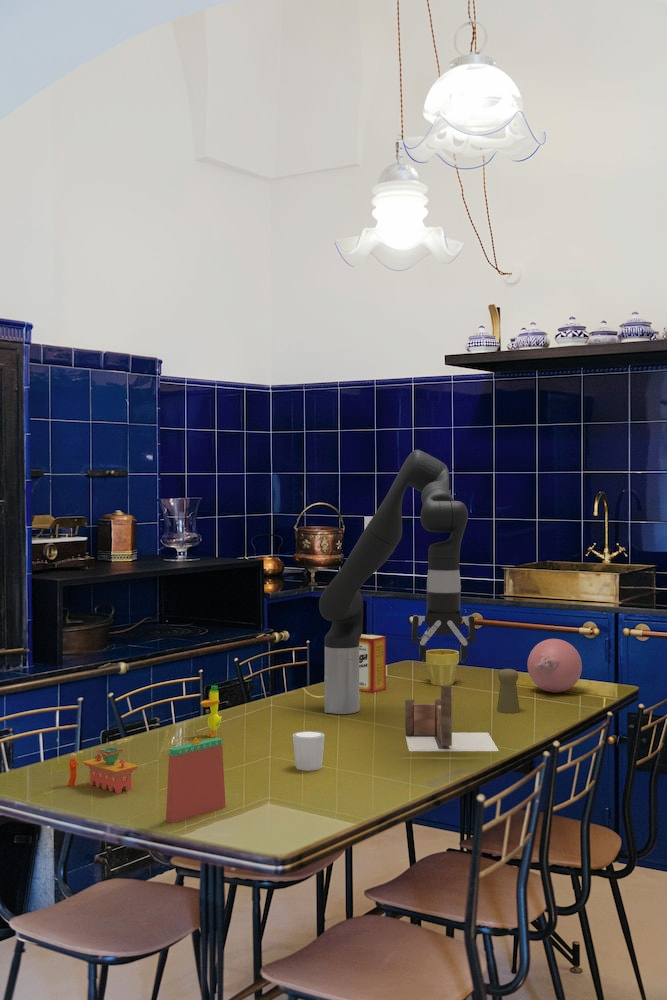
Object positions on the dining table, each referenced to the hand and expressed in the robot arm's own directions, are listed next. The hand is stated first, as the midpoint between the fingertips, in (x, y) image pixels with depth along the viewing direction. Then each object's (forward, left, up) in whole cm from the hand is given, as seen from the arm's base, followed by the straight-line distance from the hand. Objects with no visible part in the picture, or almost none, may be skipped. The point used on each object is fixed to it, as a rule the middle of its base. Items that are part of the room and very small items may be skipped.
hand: (443, 661), depth 241 cm
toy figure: (-54, +14, -20) cm, 59 cm away
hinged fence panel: (+1, +5, -19) cm, 20 cm away
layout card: (+2, +7, -20) cm, 21 cm away
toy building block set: (-61, -36, -21) cm, 74 cm away
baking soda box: (-16, +73, -20) cm, 77 cm away
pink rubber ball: (+37, +67, -20) cm, 79 cm away
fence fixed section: (-3, +13, -20) cm, 24 cm away
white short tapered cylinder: (-30, -14, -20) cm, 39 cm away
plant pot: (+7, +82, -20) cm, 84 cm away
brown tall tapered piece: (+21, +43, -20) cm, 52 cm away
